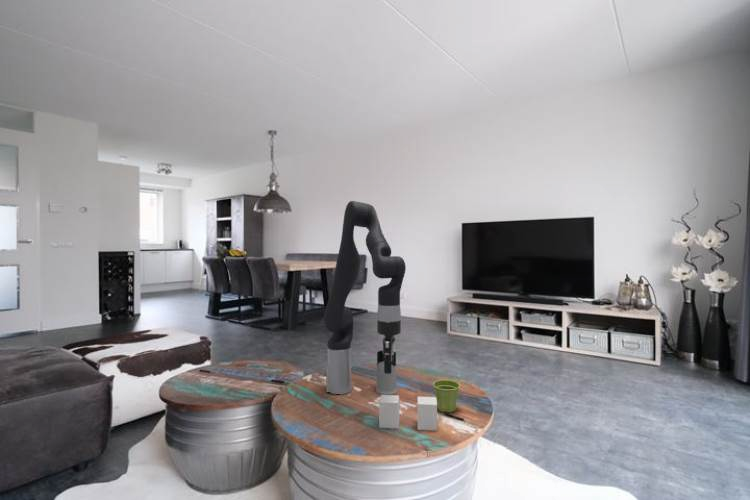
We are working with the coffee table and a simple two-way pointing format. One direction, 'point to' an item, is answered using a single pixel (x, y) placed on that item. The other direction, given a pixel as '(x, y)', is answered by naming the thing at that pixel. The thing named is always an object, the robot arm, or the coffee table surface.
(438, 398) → the plant pot
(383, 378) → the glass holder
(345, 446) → the coffee table surface
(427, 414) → the light grey rectangular block
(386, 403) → the left white block
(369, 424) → the coffee table surface
